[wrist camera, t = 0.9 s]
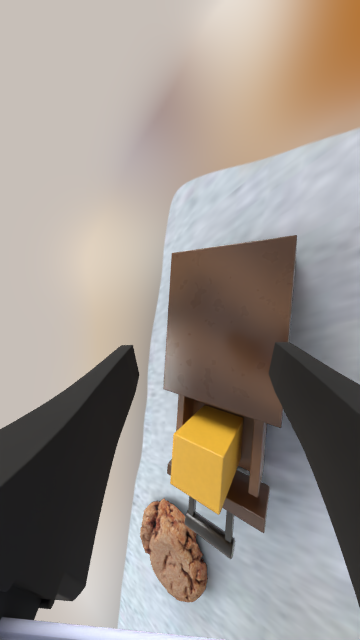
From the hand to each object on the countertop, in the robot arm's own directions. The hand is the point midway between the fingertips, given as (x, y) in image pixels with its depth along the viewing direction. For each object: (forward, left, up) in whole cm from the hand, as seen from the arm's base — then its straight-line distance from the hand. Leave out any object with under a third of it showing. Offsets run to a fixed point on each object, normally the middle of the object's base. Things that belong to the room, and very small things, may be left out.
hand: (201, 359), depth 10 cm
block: (-10, +2, -11) cm, 15 cm away
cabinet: (+1, +2, -13) cm, 13 cm away
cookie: (-29, +8, -13) cm, 32 cm away
